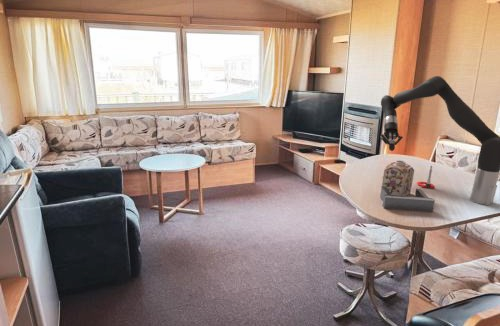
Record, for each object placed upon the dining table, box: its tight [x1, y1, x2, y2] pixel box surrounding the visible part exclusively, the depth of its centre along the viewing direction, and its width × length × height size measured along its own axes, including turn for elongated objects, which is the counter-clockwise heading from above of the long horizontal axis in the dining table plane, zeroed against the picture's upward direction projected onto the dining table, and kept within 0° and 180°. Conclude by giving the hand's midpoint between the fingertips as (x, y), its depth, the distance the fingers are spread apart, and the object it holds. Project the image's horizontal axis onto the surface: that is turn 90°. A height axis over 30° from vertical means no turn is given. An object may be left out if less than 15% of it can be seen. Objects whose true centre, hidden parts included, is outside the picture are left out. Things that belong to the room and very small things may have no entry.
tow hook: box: [416, 165, 435, 189], centre depth 190 cm, size 8×13×9 cm
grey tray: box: [379, 185, 436, 213], centre depth 164 cm, size 15×22×7 cm
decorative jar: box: [381, 159, 415, 196], centre depth 177 cm, size 12×12×18 cm
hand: (391, 150), depth 192 cm, fingers closed
